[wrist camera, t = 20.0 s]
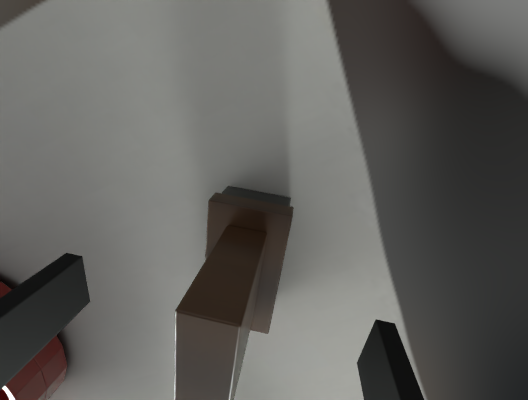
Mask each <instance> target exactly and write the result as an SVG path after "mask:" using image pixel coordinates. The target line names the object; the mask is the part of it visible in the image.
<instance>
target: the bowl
mask: <svg viewBox="0 0 528 400" xmlns="http://www.w3.org/2000/svg"><path fill="white" fill-rule="evenodd" d="M11 290H12V289H10V288H9V287H8V286H6V285H5V284H4V283H2V282H0V298H1V297H2V296H4V295H5V294H7V293H8V292H10V291H11ZM66 370H67V362H66V358H65V353H64V349H63V346H62V344H61V342H60V341H59V339H58V337H57V336H55V337H54V338H53V339H52V340H51V341H50V342H49V343H48V344H47V345H46V346H45V347H44V348H43V349H42V350H41V351H40V352H39V353H38V354H37V355H36V356H35V357H34V358H33V359H31V360H30V361H29V362H28V363H27V364H26V365H25V366H24V367H23V368H22V369H21V370H20V371H19V372H18V373H17V374H16V375H15V376H14V377H13V378H12V379H11V380H10V381H9V382H8V383H7V384H6V385H5V386H4V387H3V388H2V389H1V390H0V400H48V399H49V398H50V397H51V395H52V394H53V393H54V392H55V391H56V389H57V388H58V387H59V386H60V385H61V384H62V382H63V381H64V378H65V374H66Z"/></svg>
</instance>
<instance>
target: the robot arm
mask: <svg viewBox="0 0 528 400" xmlns="http://www.w3.org/2000/svg"><path fill="white" fill-rule="evenodd" d="M89 302H90V298H89V292H88V286H87V281H86V275H85V270H84V264H83V258H82V256H79V255H74V254H70V253H66V254H64V255H63V256H61V257H60V258H58V259H57V260H55V261H54V262H52V263H51V264H49V265H48V266H46V267H45V268H44V269H42V270H41V271H39V272H38V273H36V274H35V275H33V276H32V277H30V278H29V279H27V280H26V281H24V282H23V283H22V284H20V285H19V286H17V287H16V288H14V289H13V290H11V291H10V292H8V293H7V294H5V295H4V296H2V297H1V298H0V390H1V389H2V388H3V387H4V386H5V385H6V384H7V383H8V382H9V381H10V380H11V379H12V378H13V377H14V376H15V375H16V374H17V373H18V372H19V371H20V370H21V369H22V368H23V367H24V366H25V365H26V364H27V363H28V362H29V361H30V360H31V359H33V358H34V357H35V356H36V355H37V354H38V353H39V352H40V351H41V350H42V349H43V348H44V347H45V346H46V345H47V344H48V343H49V342H50V341H51V340H52V339H53V338H54V337H55V336H56V335H57V334H58V333H59V332H60V331H61V330H62V329H63V328H64V327H65V326H66V325H67V324H68V323H69V322H70V321H71V320H72V319H73V318H74V317H75V316H76V315H77V314H78V313H79V312H80V311H81V310H82V309H83V308H84V307H85V306H86V305H87V304H88V303H89ZM357 365H358V370H359V376H360V381H361V386H362V391H363V396H364V400H424V398H423V396H422V393H421V390H420V388H419V385H418V383H417V380H416V377H415V375H414V372H413V370H412V367H411V364H410V362H409V359H408V357H407V354H406V352H405V349H404V346H403V344H402V341H401V339H400V336H399V333H398V331H397V328H396V326H395V323H390V322H385V321H381V320H375V323H374V325H373V327H372V329H371V332H370V334H369V336H368V339H367V341H366V343H365V346H364V348H363V350H362V353H361V355H360V357H359V359H358V362H357Z"/></svg>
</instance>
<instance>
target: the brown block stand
mask: <svg viewBox="0 0 528 400" xmlns="http://www.w3.org/2000/svg"><path fill="white" fill-rule="evenodd" d="M290 201H291V198H289V197H284V196H278V195H273V194H268V193H262V192H257V191H252V190H246V189H241V188H236V187H230V186H228V187H227V188H226V189H225V190H224V191H223V192H222V194H221V193H215V194H214V195H213V196H212V197H211V198H210V199H209V203H208V219H207V236H206V252H205V263H204V264H203V266H202V268H201V269H200V271H199V272H198V274H197V276H196V277H195V279H194V281H193V282H192V284H191V286H190V287H189V289H188V291H187V292H186V294H185V295H184V297H183V299H182V300H181V302H180V304H179V305H178V307H177V309H176V310H175V400H234V396H235V392H236V388H237V384H238V379H239V375H240V371H241V367H242V363H243V358H244V354H245V350H246V346H247V342H248V337H249V333H250V330H252V331H257V332H261V333H265V334H268V333H269V328H270V323H271V319H272V314H273V309H274V304H275V299H276V294H277V289H278V284H279V280H280V275H281V270H282V265H283V260H284V255H285V250H286V246H287V241H288V236H289V231H290V226H291V221H292V216H293V207H290Z"/></svg>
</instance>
